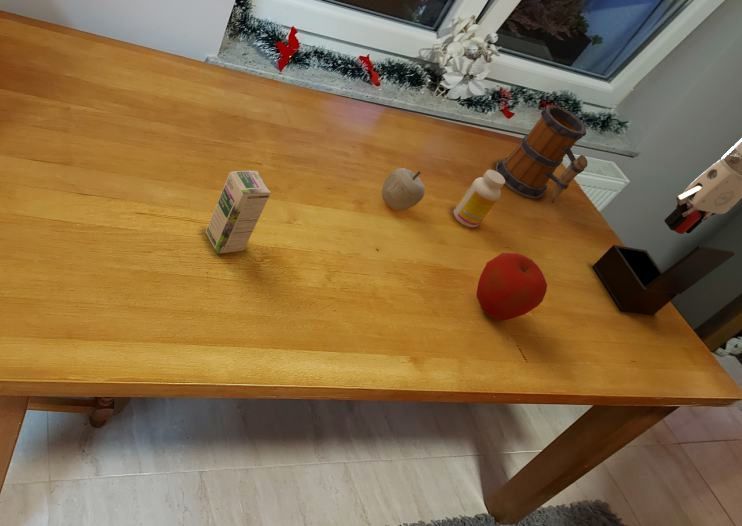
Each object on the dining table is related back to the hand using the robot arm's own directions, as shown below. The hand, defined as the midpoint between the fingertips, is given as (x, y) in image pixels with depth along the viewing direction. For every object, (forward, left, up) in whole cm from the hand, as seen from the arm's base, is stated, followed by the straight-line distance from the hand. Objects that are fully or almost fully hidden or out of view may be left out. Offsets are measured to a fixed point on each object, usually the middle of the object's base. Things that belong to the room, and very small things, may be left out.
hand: (676, 226), depth 149 cm
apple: (+22, +39, -20) cm, 49 cm away
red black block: (0, 0, 0) cm, 0 cm away
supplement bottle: (+37, +15, -20) cm, 45 cm away
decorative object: (+51, +28, -20) cm, 62 cm away
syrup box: (+68, +70, -20) cm, 100 cm away
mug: (+30, -16, -20) cm, 39 cm away
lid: (-6, +6, -4) cm, 10 cm away
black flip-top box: (-2, +1, -19) cm, 20 cm away
